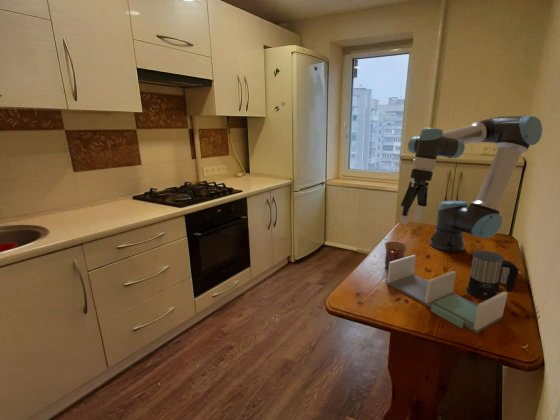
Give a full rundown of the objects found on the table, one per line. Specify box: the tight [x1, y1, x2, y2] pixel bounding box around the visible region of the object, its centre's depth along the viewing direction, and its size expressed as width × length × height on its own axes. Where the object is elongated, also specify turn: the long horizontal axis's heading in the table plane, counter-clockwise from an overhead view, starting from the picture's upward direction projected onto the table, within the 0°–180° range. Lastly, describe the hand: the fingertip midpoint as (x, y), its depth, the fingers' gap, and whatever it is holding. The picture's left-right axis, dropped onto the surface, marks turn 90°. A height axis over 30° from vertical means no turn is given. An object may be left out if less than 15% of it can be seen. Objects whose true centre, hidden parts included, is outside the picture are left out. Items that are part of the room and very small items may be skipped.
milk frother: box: [466, 250, 519, 301], centre depth 111 cm, size 14×16×15 cm
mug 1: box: [384, 240, 408, 269], centre depth 127 cm, size 12×9×10 cm
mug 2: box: [500, 267, 510, 285], centre depth 120 cm, size 10×7×7 cm
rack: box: [386, 254, 508, 334], centre depth 104 cm, size 16×33×9 cm, turn 30°
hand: (410, 222), depth 122 cm, fingers open, 13 cm apart
